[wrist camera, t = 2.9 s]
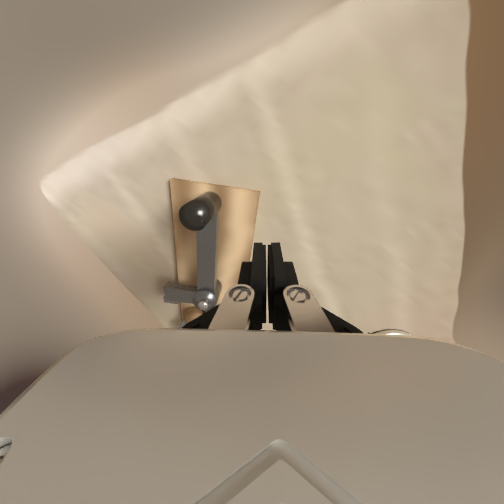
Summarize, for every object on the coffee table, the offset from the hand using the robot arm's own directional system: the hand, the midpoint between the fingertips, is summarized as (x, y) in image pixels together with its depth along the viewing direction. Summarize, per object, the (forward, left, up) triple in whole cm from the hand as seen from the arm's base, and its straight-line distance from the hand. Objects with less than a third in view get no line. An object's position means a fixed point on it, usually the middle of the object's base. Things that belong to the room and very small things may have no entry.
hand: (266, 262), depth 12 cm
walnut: (+11, +24, -16) cm, 30 cm away
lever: (+11, +9, -16) cm, 21 cm away
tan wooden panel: (+8, +13, -17) cm, 23 cm away
